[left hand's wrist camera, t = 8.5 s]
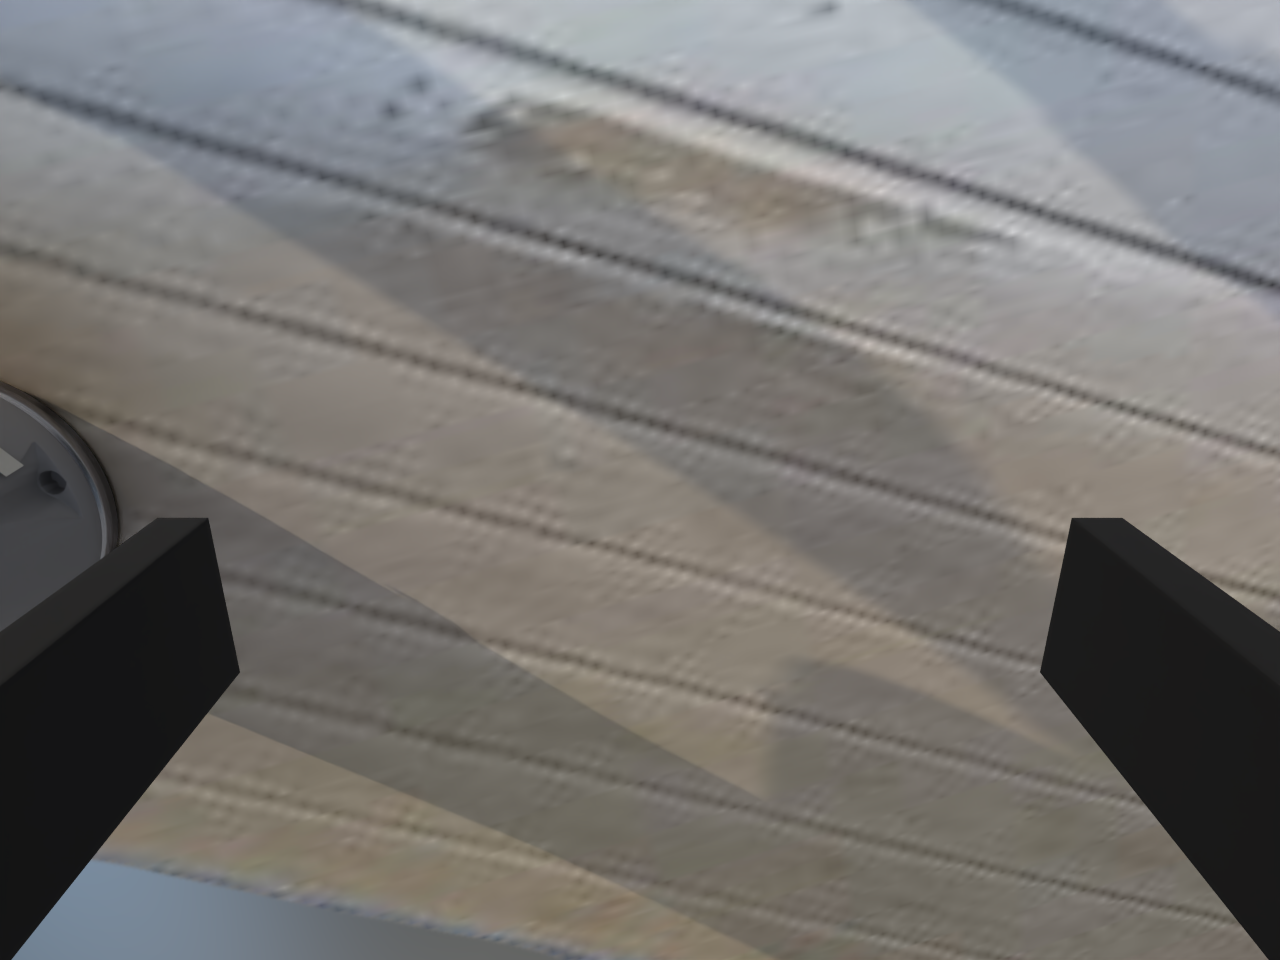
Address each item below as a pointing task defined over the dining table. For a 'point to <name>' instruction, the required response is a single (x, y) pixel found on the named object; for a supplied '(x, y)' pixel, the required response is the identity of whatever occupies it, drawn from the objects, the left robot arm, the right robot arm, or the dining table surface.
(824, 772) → the dining table surface
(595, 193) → the dining table surface
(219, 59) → the dining table surface
